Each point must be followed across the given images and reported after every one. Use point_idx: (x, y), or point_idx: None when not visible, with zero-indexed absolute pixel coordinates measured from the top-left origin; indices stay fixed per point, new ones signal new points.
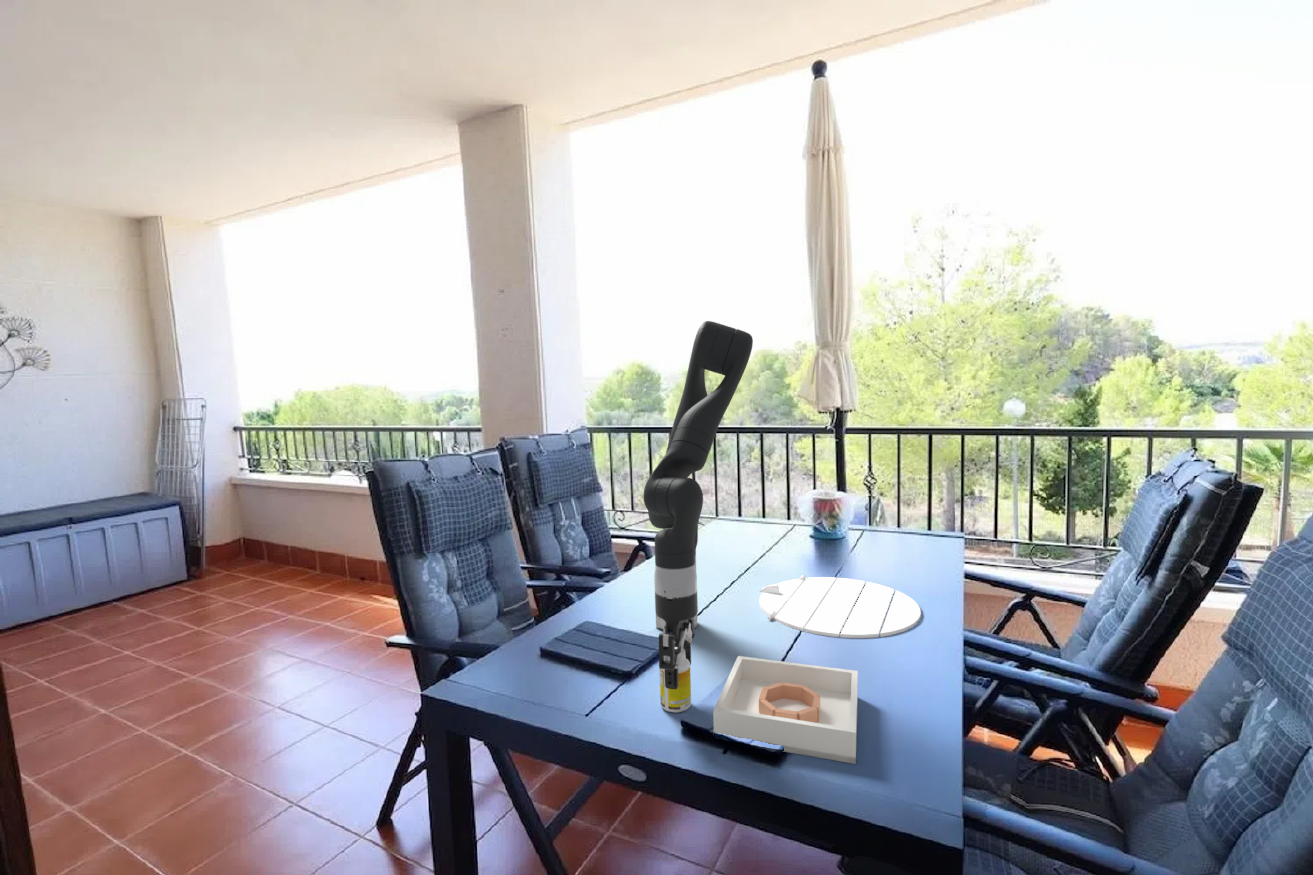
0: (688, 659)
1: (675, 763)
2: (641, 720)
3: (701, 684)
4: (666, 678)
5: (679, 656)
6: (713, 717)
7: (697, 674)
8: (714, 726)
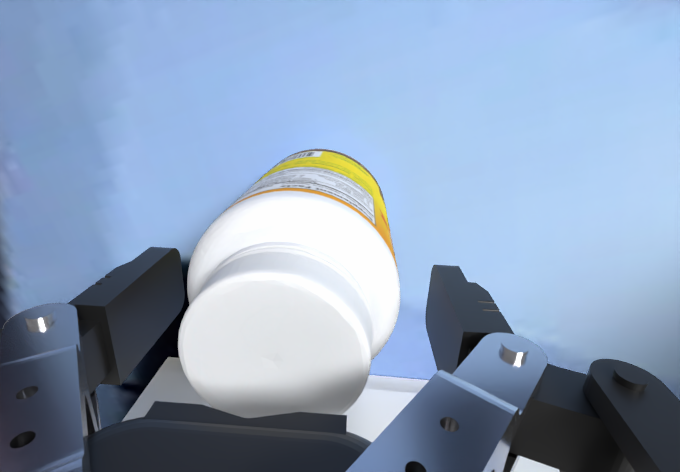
0: (433, 339)
1: (10, 276)
2: (176, 97)
3: (505, 274)
4: (93, 288)
5: (210, 402)
6: (129, 411)
7: (595, 244)
8: (147, 388)
